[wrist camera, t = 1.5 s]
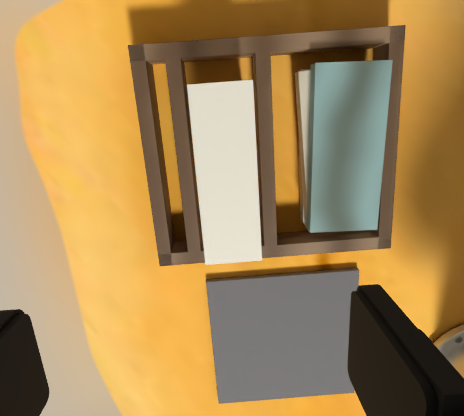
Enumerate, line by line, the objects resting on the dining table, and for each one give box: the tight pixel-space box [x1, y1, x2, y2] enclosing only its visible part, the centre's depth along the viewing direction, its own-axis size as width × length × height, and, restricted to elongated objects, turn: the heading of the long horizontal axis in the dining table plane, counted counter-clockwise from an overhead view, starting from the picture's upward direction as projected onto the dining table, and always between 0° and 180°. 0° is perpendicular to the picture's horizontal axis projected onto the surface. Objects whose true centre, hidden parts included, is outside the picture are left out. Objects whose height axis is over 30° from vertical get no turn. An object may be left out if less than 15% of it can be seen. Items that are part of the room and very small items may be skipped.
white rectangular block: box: [187, 80, 262, 265], centre depth 28 cm, size 4×12×11 cm, turn 4°
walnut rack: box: [128, 25, 405, 266], centre depth 32 cm, size 22×19×3 cm
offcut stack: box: [295, 60, 393, 233], centre depth 31 cm, size 7×14×4 cm, turn 4°
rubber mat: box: [206, 268, 359, 404], centre depth 39 cm, size 16×16×1 cm
